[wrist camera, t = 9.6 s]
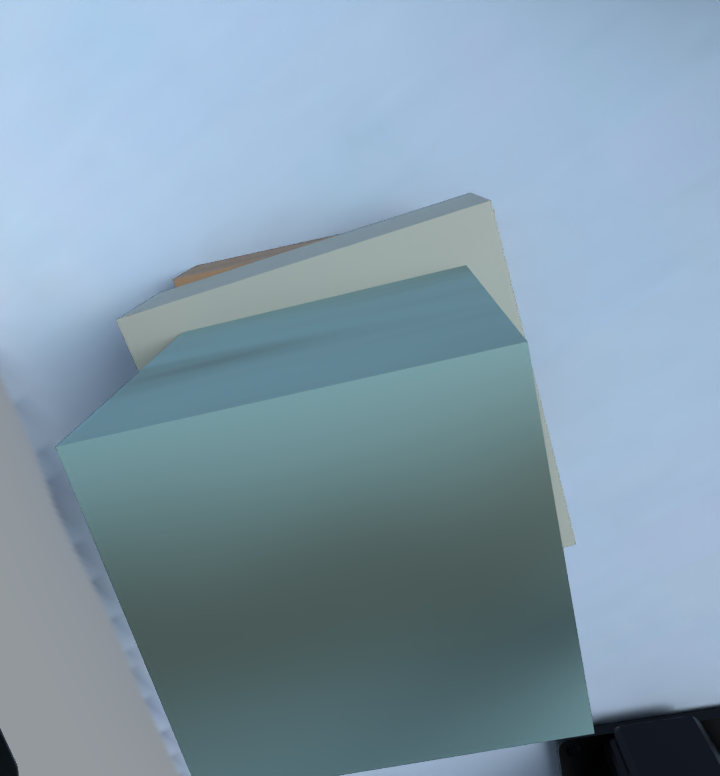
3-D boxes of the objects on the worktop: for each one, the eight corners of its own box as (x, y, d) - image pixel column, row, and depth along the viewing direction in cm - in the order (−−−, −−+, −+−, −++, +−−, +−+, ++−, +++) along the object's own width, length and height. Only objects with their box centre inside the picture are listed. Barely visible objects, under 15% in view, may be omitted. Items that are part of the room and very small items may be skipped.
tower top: (545, 485, 19) (576, 544, 16) (268, 558, 20) (250, 627, 17) (470, 192, 16) (490, 200, 13) (159, 292, 17) (116, 320, 14)
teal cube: (516, 522, 16) (594, 733, 10) (263, 572, 16) (200, 797, 11) (466, 265, 14) (527, 341, 8) (183, 332, 14) (54, 447, 9)
